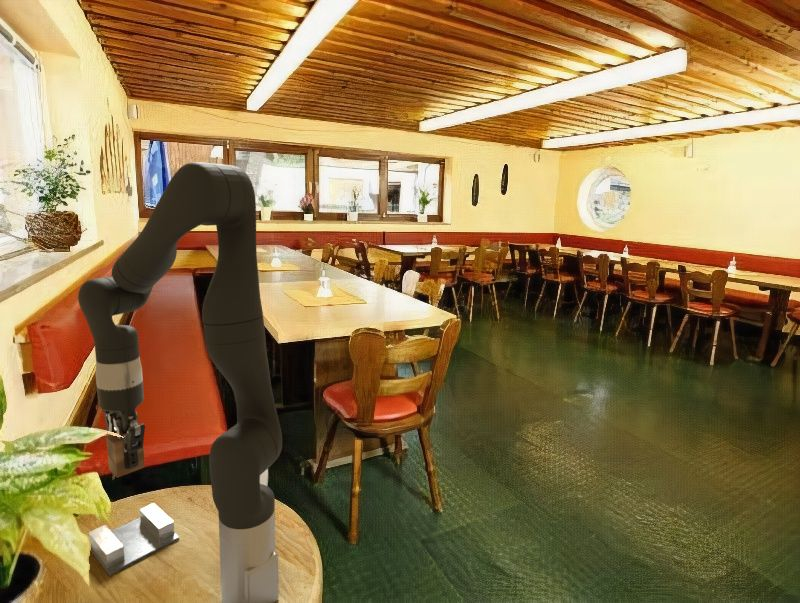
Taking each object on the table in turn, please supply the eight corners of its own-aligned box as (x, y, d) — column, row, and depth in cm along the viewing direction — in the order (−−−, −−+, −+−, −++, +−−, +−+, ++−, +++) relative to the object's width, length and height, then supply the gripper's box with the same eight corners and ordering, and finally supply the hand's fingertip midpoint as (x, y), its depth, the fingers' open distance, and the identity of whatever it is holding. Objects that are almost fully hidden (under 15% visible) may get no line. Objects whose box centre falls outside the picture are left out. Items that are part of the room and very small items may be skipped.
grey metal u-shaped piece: (178, 539, 97) (178, 524, 96) (109, 576, 87) (108, 559, 86) (152, 513, 104) (151, 499, 103) (86, 544, 94) (84, 529, 93)
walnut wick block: (144, 467, 92) (142, 434, 91) (117, 477, 89) (114, 444, 87) (136, 459, 95) (133, 428, 93) (109, 469, 91) (106, 436, 90)
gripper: (157, 385, 86) (162, 469, 90) (125, 366, 95) (131, 443, 99) (113, 397, 81) (120, 485, 84) (83, 375, 89) (91, 456, 93)
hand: (126, 462), depth 91 cm, fingers closed on walnut wick block, 4 cm apart
